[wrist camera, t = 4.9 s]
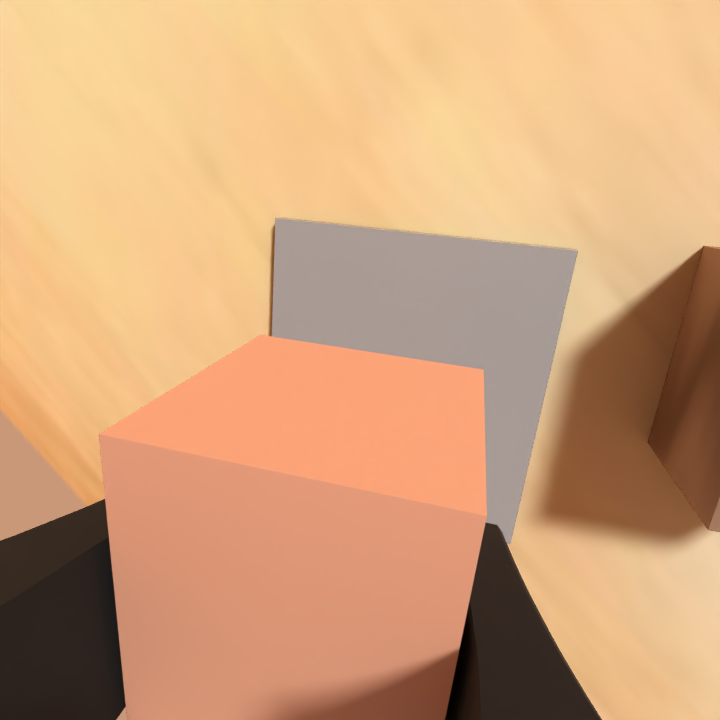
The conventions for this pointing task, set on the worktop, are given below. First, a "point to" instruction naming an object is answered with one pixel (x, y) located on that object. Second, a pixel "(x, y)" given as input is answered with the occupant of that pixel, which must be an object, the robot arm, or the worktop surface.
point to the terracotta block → (297, 535)
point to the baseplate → (435, 319)
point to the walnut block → (695, 398)
